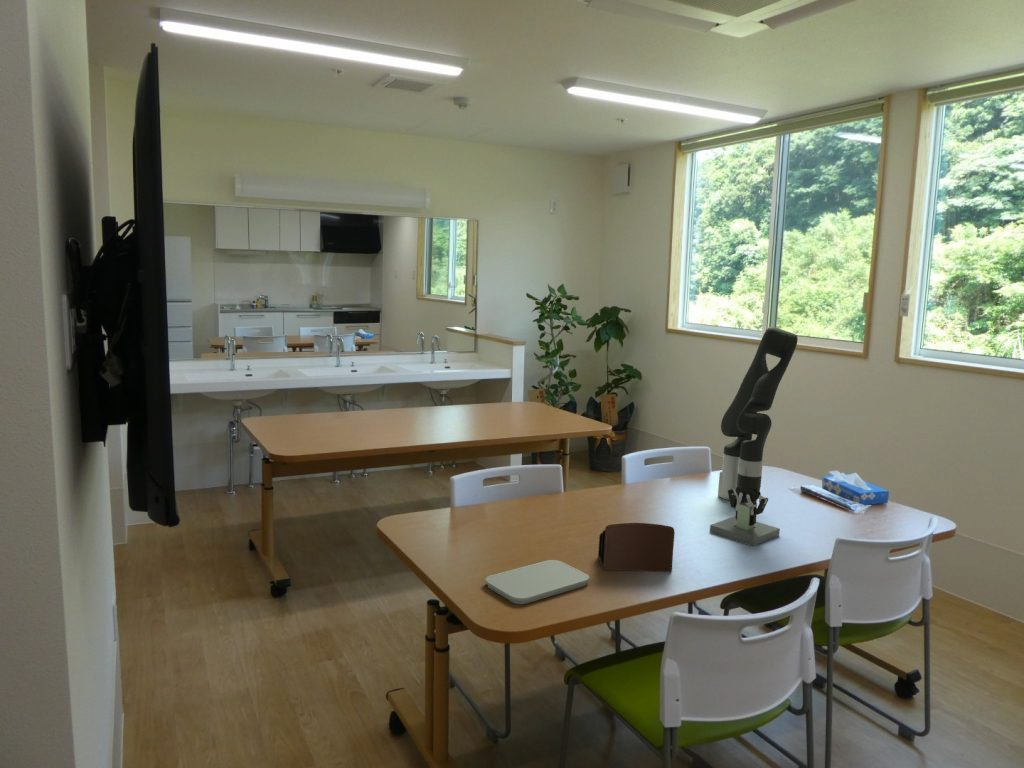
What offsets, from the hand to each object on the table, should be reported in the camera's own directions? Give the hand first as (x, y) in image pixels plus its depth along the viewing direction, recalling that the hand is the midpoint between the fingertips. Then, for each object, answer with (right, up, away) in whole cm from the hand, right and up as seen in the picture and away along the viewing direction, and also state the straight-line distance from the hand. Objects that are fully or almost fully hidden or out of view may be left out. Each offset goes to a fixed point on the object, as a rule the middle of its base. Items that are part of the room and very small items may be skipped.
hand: (745, 523), depth 245 cm
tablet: (-70, -9, -46) cm, 84 cm away
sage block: (0, -4, 0) cm, 4 cm away
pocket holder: (0, -4, +1) cm, 4 cm away
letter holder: (-41, -7, -29) cm, 51 cm away
